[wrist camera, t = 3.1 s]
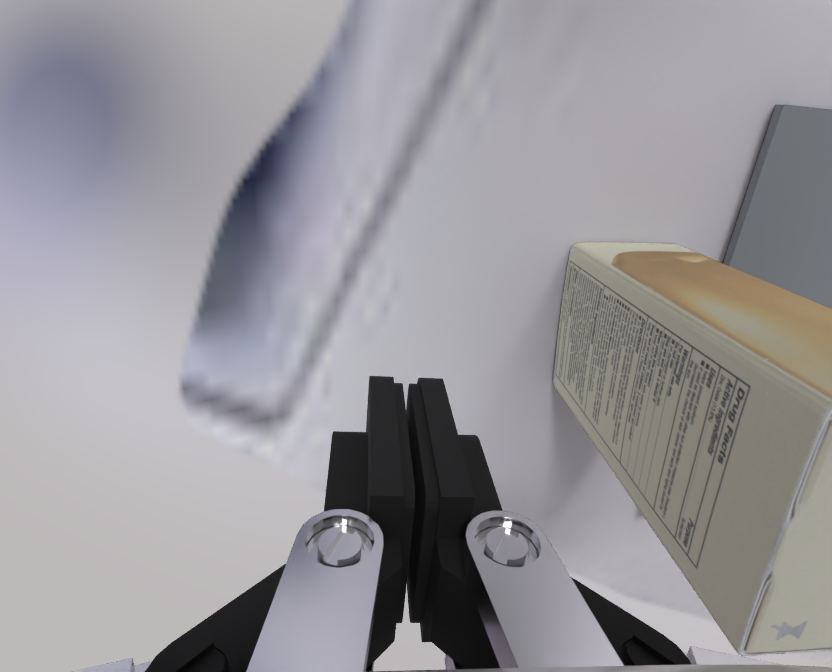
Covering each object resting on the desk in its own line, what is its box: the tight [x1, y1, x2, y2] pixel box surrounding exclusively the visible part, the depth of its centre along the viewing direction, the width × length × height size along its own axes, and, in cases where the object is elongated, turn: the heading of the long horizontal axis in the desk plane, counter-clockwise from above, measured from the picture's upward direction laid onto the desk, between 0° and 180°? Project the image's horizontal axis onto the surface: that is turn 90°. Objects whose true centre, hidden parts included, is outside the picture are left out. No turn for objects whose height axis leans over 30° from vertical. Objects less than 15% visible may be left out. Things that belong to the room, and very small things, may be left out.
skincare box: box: [553, 242, 832, 656], centre depth 15 cm, size 6×4×12 cm
